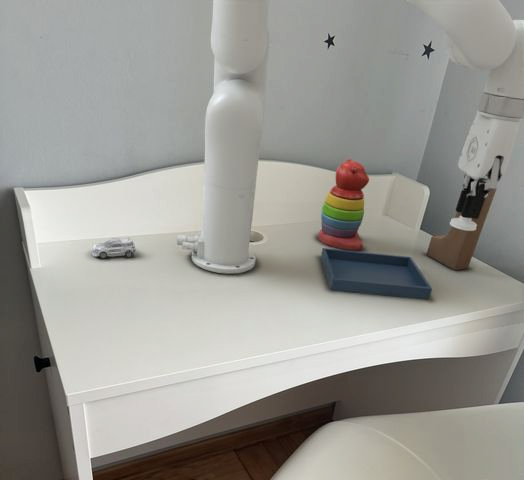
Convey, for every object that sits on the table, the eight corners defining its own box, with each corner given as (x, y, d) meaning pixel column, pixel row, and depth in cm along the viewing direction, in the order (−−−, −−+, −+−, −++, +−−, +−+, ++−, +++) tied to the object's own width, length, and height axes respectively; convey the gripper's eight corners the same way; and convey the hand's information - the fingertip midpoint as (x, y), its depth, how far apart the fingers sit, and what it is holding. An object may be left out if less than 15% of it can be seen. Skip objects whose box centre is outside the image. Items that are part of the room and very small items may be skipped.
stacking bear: (363, 252, 115) (382, 170, 106) (318, 247, 115) (334, 164, 105) (356, 235, 125) (373, 158, 115) (315, 230, 124) (329, 153, 114)
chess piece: (477, 232, 95) (497, 177, 90) (450, 227, 96) (468, 173, 90) (474, 224, 99) (492, 171, 94) (448, 219, 100) (465, 167, 95)
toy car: (90, 251, 99) (89, 236, 97) (132, 249, 102) (132, 235, 100) (93, 259, 96) (92, 244, 94) (136, 257, 99) (136, 242, 98)
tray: (330, 290, 97) (332, 279, 96) (320, 258, 110) (322, 247, 108) (428, 299, 99) (432, 288, 97) (408, 266, 111) (411, 256, 110)
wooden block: (425, 254, 119) (449, 175, 109) (439, 252, 121) (464, 174, 111) (454, 270, 113) (483, 188, 103) (468, 268, 115) (498, 187, 105)
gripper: (464, 98, 93) (434, 199, 103) (500, 112, 80) (462, 227, 89) (503, 103, 94) (470, 203, 103) (546, 118, 80) (503, 232, 90)
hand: (466, 214), depth 96 cm, fingers closed on chess piece
